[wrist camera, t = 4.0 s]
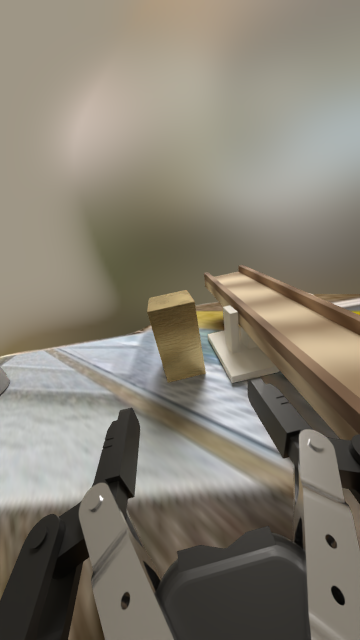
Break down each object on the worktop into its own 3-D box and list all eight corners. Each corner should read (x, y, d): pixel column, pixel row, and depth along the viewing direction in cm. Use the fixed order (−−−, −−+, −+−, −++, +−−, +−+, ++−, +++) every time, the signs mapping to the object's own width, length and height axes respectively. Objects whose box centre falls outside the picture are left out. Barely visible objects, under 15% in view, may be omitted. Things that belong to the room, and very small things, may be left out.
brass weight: (205, 373, 22) (194, 301, 18) (168, 382, 22) (147, 311, 17) (197, 351, 26) (186, 289, 22) (165, 358, 26) (149, 298, 22)
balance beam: (488, 421, 9) (533, 389, 8) (356, 457, 9) (378, 430, 8) (242, 278, 35) (242, 264, 34) (205, 286, 35) (204, 273, 34)
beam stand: (344, 355, 20) (360, 301, 17) (232, 383, 20) (228, 331, 17) (286, 321, 29) (290, 281, 26) (208, 339, 29) (203, 301, 26)
